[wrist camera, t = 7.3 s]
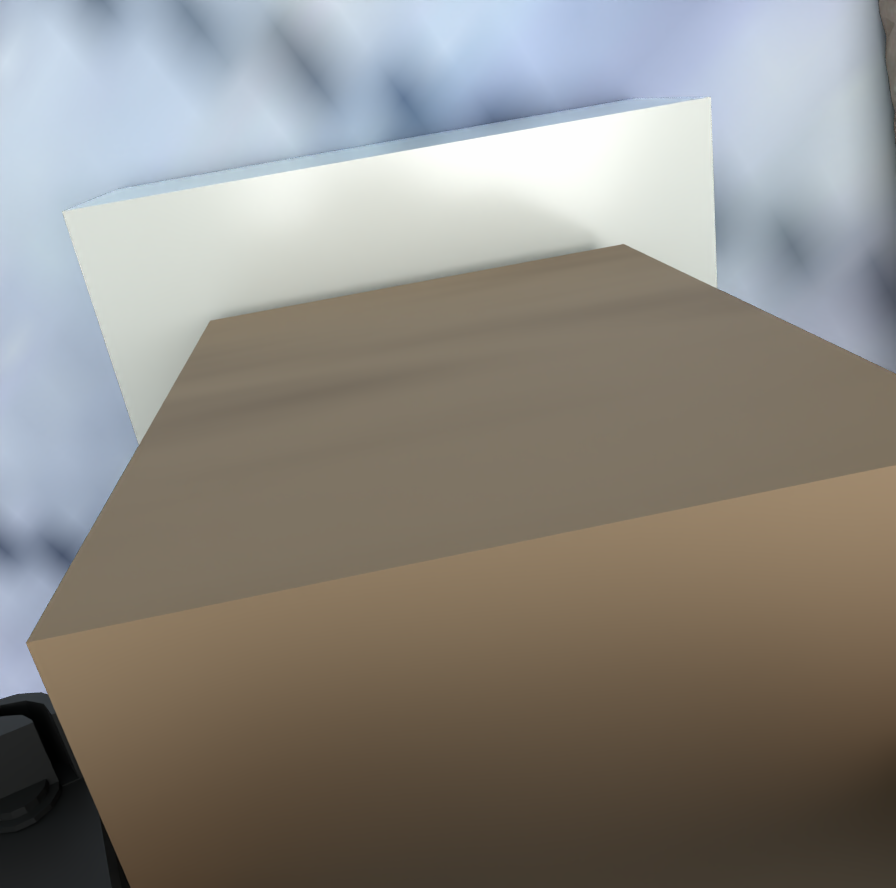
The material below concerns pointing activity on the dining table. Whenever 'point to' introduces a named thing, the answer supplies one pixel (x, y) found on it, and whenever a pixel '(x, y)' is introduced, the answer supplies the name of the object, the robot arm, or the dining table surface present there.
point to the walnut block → (496, 597)
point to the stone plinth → (388, 223)
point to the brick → (890, 46)
